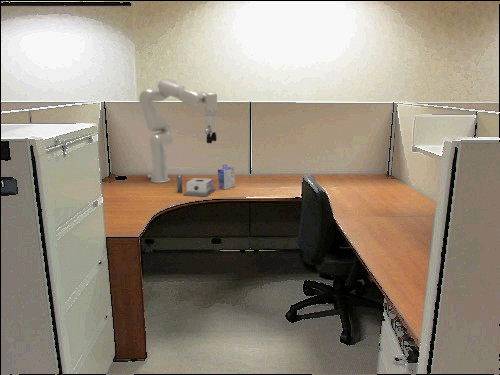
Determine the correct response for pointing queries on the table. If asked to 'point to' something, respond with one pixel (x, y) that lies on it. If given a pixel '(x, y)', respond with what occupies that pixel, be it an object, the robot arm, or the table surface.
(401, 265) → the table surface
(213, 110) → the robot arm
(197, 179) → the block
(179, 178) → the steel pin
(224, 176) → the ink cartridge box
